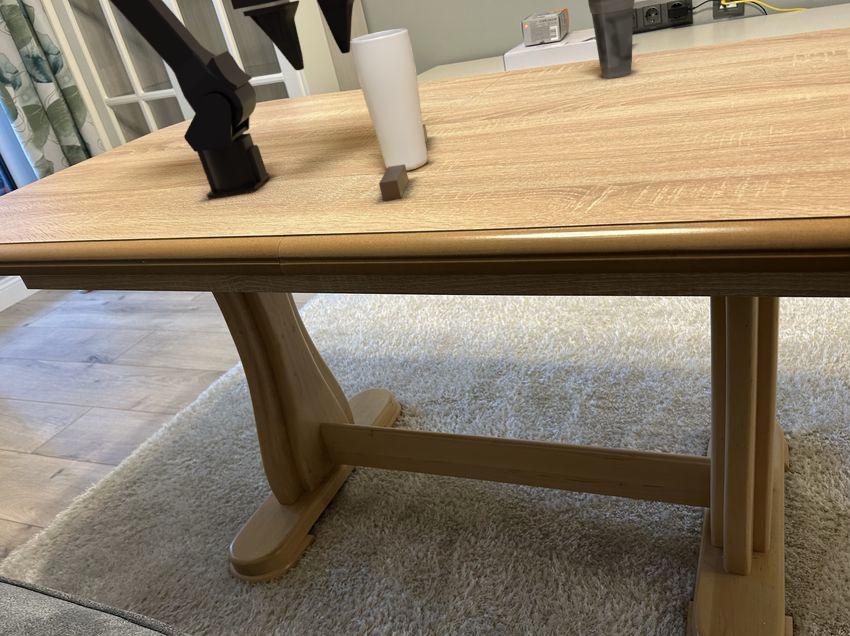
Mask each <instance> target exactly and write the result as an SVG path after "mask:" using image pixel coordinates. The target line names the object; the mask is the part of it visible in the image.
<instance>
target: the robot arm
mask: <svg viewBox="0 0 850 636" xmlns="http://www.w3.org/2000/svg"><path fill="white" fill-rule="evenodd" d="M109 1H110V2H111V4H112V5H113V6H114V7H115V8H116V9H117V10H118V11H119V12H120V14H121V15H122V16H123V17H124V18H125V19H126V20H127V22H129V24H130V25H131V26H132V27H133V28H134V30H136V31H137V32H138V34H139V35H140V36H141V37H142V38H143V39H144V41H146V42H147V44H148V45H149V46H150V47H151V48H152V49H153V50H154V51H155V52H156V54H157V55H158V56H159V57H160V58H161V59H162V60H163V61H164V63H165V64H166V65H167V67H169V68H170V69H171V71H172V72H173V74H174V77H175V78H176V82H177V84H178V86H179V88H180V90H181V93H182V95H183V97H184V99H185V101H186V102H187V103H188V105H189V107H190V108H191V110H192V111H193V112H194V115H193V118H192V119H191V122H190V124H189V126H188V127H187V129H186V131H185V133H184V135H183V137H184V140H185V141H186V142H187V144H188V145H189V146H190V148H191V149H192V150H193V151H194V152H195V153H197V156H198V158H199V161H200V163H201V166H202V169H203V173H204V175H205V176H206V180H207V183H208V185H209V188H210V191H209V192H207V193H206V197H207V199H212V198H213V199H214V198H219V197H224V196H231V195H237V194H243V193H244V194H245V193H250V192H254V191H256V190H257V189H258V188H259V187H260V186H261V185H262V184H263V183H264V182H265V181H266V180H268V178H270V174H269V172H267V170H266V169H267V168H266V166H265V163H264V159H263V157H262V154H261V150H260V148H259V145H257V144H255V143H254V140H253V138H252V135H251V133H250V132H249V133H246V132H247V131H249V130H250V117H251V116H252V114H253V113H254V111H255V108H256V106H257V93H256V90H255V88H254V86H253V85H252V83H251V82H250V81H251V80H252V78H253V77H252V76H251V75H249V74H248V73H246V72H245V71H244V70H243V69H242V68H241V67H240V66H239V64H238V63H237V61H236V59H235V58H234V56H233V55H232V54H231V52H230V51H228V50H225V51H223V52H221V53H219V54H217V55H216V54H214V53H212V52H211V51H209V50H208V49H206V48H205V47H204V46H203V45H202V44H201V43H200V42H199V41H198V40H197V39H196V38H195V36H194V35H193V34H192V33H191V32H190V31H189V29H188V28H187V27H186V26H185V25H184V24H183V22H182V21H181V20H180V19H179V18H178V17H177V15H176V14H175V13H174V12H173V11H172V10H171V8H170V7H169V6H168V5H167V4H166V2H165V1H163V0H109ZM230 3H231V6H232V9H233V10H235V11H236V10H239V9H245V8H251V9H248V10H244V11H242V14H243V16H244V17H249V18H250V19H251V20H252V21H253V22H254V23H255V24H256V25H257V26H258V27H259V28H260V30H261V31H262V32H263V33H264V34H265V35H266V36H267V37H268V38H269V39H270V41H271V42H272V43H273V44H274V46H275V47H276V48H277V49H278V51H279V52H280V53H281V54H282V55H283V57H284V58H285V59H286V61H288V63H289V64H290V65H291V66H292V67H291V68H293V69H294V70H295V71H302V70H304V69H305V63H304V57H303V52H302V47H301V43H300V42H301V41H300V38H299V33H298V29H297V25H296V20H295V17H296V14H297V11H298V7H299V4H300V0H294V1H291V0H230ZM316 3H317V4H318V6H319V10H320V11H321V13H322V15H323V18H324V20H325V22H326V24H327V27H328V29H329V31H330V33H331V35H332V37H333V39H334V42H335V44H336V45H337V47H338V50H339V51H340V53H341V54H342V55H343V54H348V53H351V44H350V41H351V40H352V22H353V20H352V19H353V11H354V9H353V8H354V3H355V0H316Z"/></svg>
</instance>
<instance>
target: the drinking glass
mask: <svg viewBox="0 0 850 636" xmlns="http://www.w3.org/2000/svg"><path fill="white" fill-rule="evenodd" d="M350 51H351V54H352V59H353V63H354V69H355V73H356V76H357V79H358V82H359V86H360V89H361V93H362V95H363V98H364V102H365V104H366V105H365V106H366V108H367V111H368V113H369V117H370V120H371V123H372V126H373V128H374V129H373V130H374V133H375V136H376V138H377V142H378V145H379V148H380V152H381V154H382V157H383V158H382V159H383V164H384V165H385V168H386V169H387V168H388V167H391V166H397V165H403V164H405V167H406V171H407V172H408V171H412V170H415V169H419V168H420V167H423V166H424V165H425V164H426V163H427V162H428V161H429V155H428V150H427V143H426V144H425V137H424V129H423V124H424V123H423V122H424V121H423V115H422V107H421V98H420V97H421V96H420V89H419V81H418V73H417V67H416V61H415V60H416V59H415V55H414V50H413V46H412V41H411V37H410V33H409V30H408V28H404V27H403V28H394V29H393V28H392V29H388V30H387V29H386V30H382V31H377V32H371V33H367V34H364V35H360V36H357V37H355V38H351V41H350Z"/></svg>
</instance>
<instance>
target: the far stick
mask: <svg viewBox="0 0 850 636" xmlns="http://www.w3.org/2000/svg"><path fill="white" fill-rule="evenodd" d="M423 129H424V137H425V144H426V145H427V141H428V140H429V136H428V132H427V125H426V124H425V123H423Z"/></svg>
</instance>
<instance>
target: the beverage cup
mask: <svg viewBox="0 0 850 636" xmlns="http://www.w3.org/2000/svg"><path fill="white" fill-rule="evenodd" d="M587 3H588V8H589V12H590V14H591V17H592V24H593V31H594V36H595V42H596V43H595V44H596V49H597V55H598V61H599V67H600V71H601V76H602V78H603V79H616V78H621V77H625V76H628V75H630V74H632V63H633V29H634V28H633V27H634V6H635V0H587Z"/></svg>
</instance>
